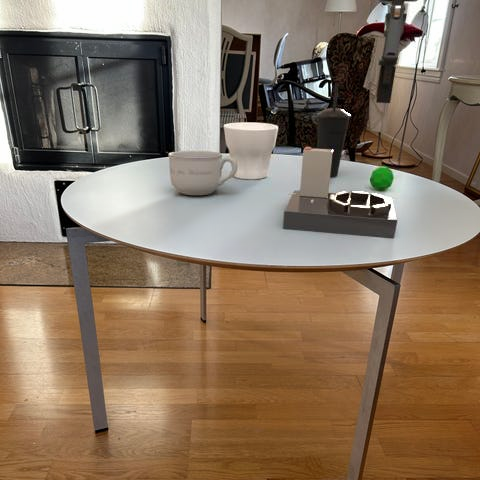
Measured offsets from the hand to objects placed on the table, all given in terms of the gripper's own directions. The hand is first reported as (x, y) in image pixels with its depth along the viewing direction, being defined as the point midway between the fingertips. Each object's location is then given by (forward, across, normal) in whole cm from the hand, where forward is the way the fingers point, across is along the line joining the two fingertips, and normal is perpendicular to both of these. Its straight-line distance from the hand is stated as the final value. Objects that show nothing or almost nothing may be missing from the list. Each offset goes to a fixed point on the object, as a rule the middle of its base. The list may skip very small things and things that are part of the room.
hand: (382, 100), depth 102 cm
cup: (+18, +2, -28) cm, 33 cm away
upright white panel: (+14, +27, -10) cm, 33 cm away
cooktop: (+17, +31, -5) cm, 36 cm away
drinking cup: (+18, -4, -10) cm, 21 cm away
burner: (+14, +33, -2) cm, 36 cm away
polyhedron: (+18, +6, +2) cm, 19 cm away
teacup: (+18, +21, -33) cm, 43 cm away
